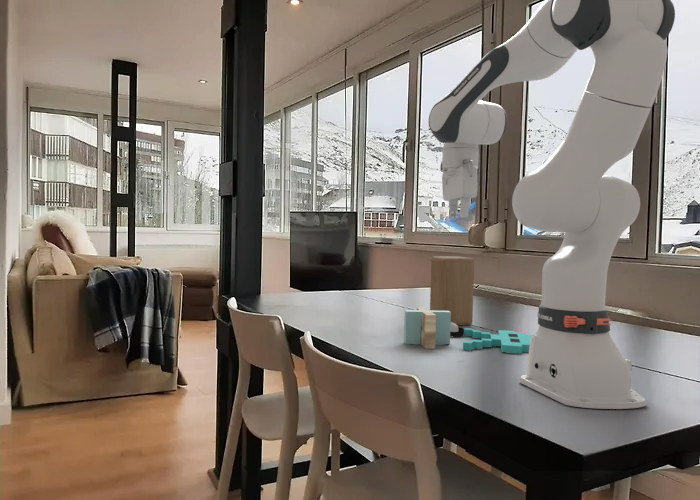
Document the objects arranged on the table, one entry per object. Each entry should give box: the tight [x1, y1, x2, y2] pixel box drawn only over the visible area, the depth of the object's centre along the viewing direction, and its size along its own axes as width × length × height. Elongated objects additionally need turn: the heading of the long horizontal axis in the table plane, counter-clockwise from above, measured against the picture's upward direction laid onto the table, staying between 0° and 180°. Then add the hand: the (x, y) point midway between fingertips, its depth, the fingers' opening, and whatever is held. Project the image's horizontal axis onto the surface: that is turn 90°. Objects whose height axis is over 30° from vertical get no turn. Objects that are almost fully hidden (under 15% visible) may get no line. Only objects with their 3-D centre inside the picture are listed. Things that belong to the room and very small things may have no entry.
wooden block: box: [429, 255, 475, 326], centre depth 173 cm, size 10×10×20 cm
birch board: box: [416, 307, 436, 350], centre depth 141 cm, size 12×2×8 cm, turn 4°
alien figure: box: [462, 327, 535, 355], centre depth 143 cm, size 20×2×20 cm
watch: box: [450, 322, 465, 338], centre depth 153 cm, size 8×5×4 cm, turn 57°
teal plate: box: [403, 309, 451, 345], centre depth 141 cm, size 2×11×8 cm, turn 94°
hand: (458, 217), depth 143 cm, fingers open, 8 cm apart
